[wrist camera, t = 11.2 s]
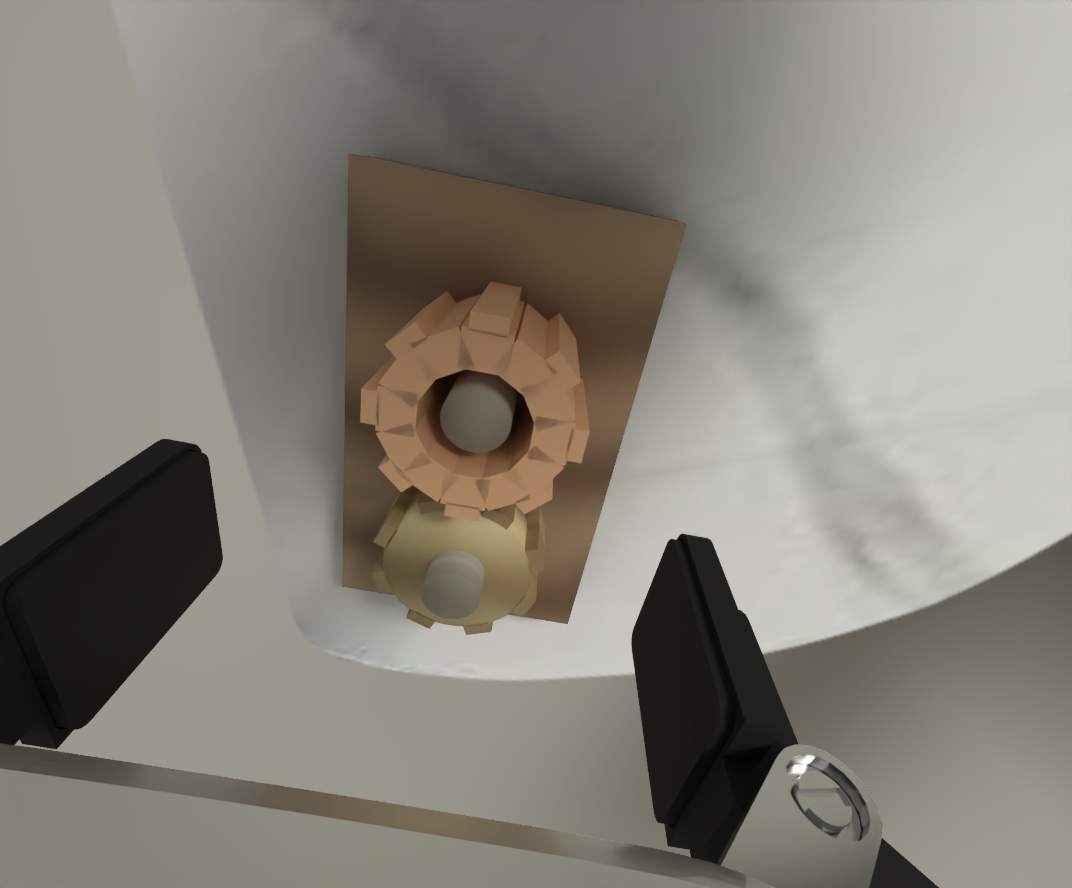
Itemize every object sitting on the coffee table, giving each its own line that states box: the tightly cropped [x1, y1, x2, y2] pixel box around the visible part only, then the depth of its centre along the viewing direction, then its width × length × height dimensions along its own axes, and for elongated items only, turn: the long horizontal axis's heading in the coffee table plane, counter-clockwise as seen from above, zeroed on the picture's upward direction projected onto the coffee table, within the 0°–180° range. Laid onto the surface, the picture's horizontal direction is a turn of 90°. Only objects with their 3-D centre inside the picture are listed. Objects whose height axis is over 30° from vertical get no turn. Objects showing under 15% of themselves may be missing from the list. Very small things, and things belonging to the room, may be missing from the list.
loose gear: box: [360, 281, 590, 521], centre depth 19 cm, size 7×7×5 cm
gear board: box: [343, 154, 686, 635], centre depth 21 cm, size 20×12×6 cm, turn 170°
